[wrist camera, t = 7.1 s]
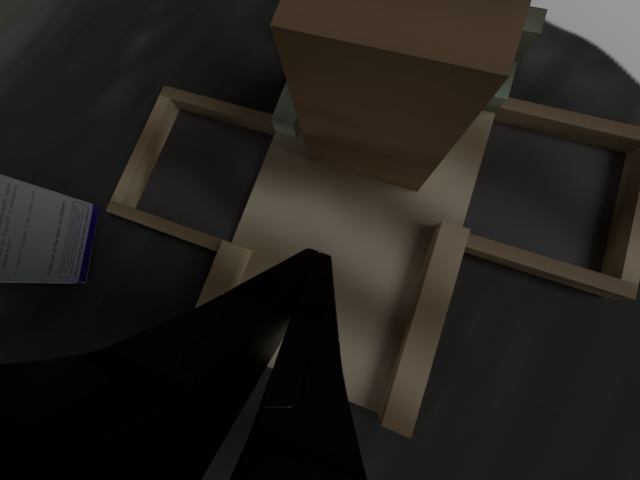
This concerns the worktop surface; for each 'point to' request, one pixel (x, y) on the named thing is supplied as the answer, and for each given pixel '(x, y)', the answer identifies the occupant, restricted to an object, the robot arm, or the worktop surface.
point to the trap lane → (393, 217)
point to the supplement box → (44, 235)
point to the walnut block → (393, 77)
